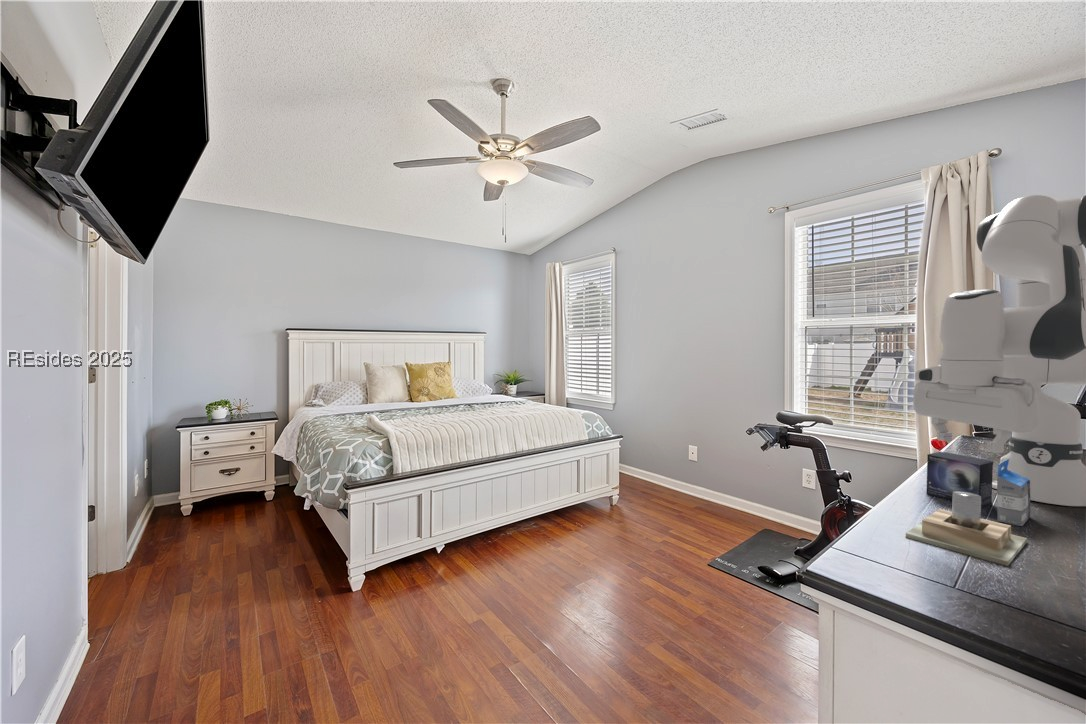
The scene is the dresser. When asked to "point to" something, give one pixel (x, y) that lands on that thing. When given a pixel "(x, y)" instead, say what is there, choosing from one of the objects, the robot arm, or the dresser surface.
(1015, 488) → the label tape box
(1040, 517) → the dresser surface
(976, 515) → the peg
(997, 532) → the hub block
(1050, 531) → the dresser surface
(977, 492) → the small box
